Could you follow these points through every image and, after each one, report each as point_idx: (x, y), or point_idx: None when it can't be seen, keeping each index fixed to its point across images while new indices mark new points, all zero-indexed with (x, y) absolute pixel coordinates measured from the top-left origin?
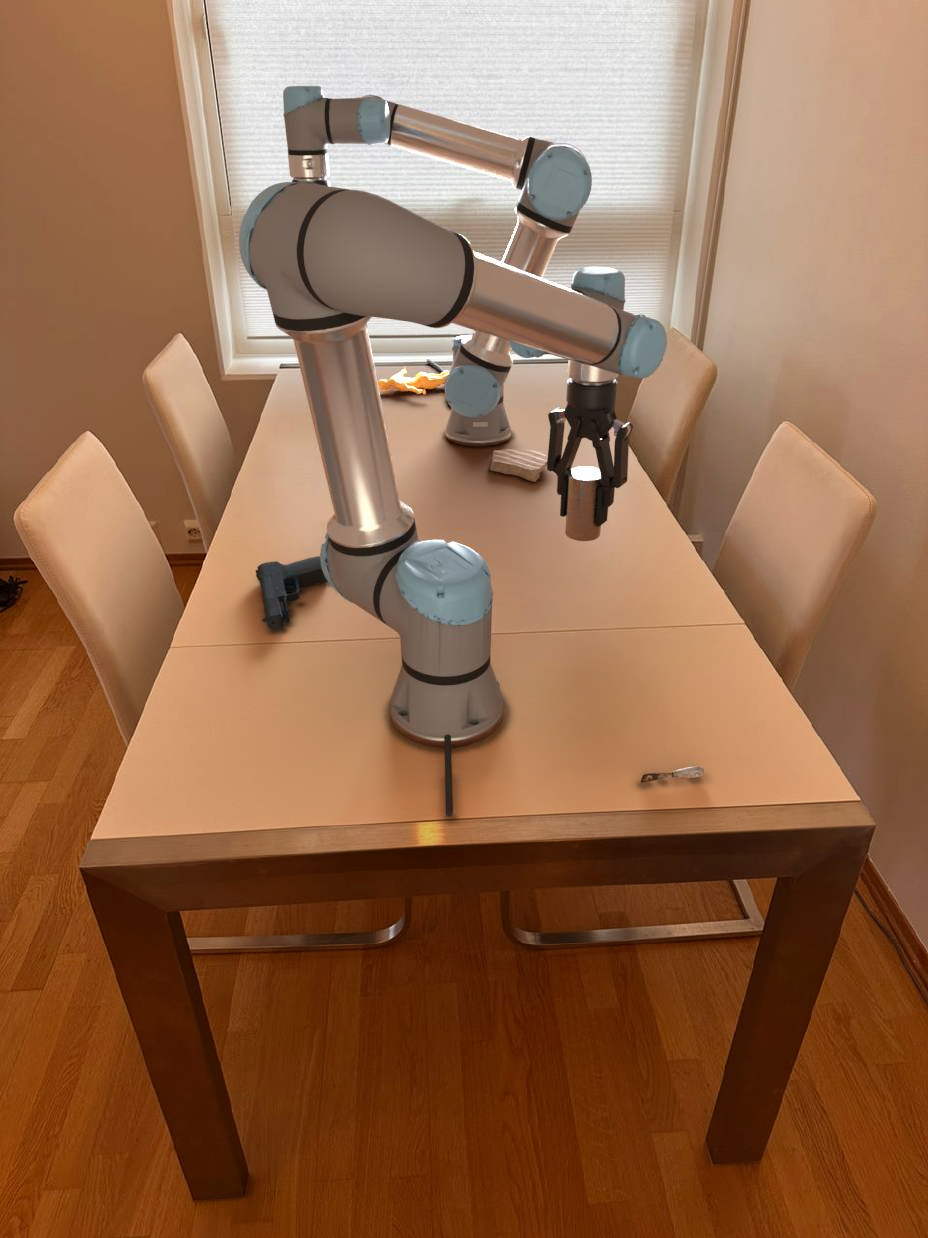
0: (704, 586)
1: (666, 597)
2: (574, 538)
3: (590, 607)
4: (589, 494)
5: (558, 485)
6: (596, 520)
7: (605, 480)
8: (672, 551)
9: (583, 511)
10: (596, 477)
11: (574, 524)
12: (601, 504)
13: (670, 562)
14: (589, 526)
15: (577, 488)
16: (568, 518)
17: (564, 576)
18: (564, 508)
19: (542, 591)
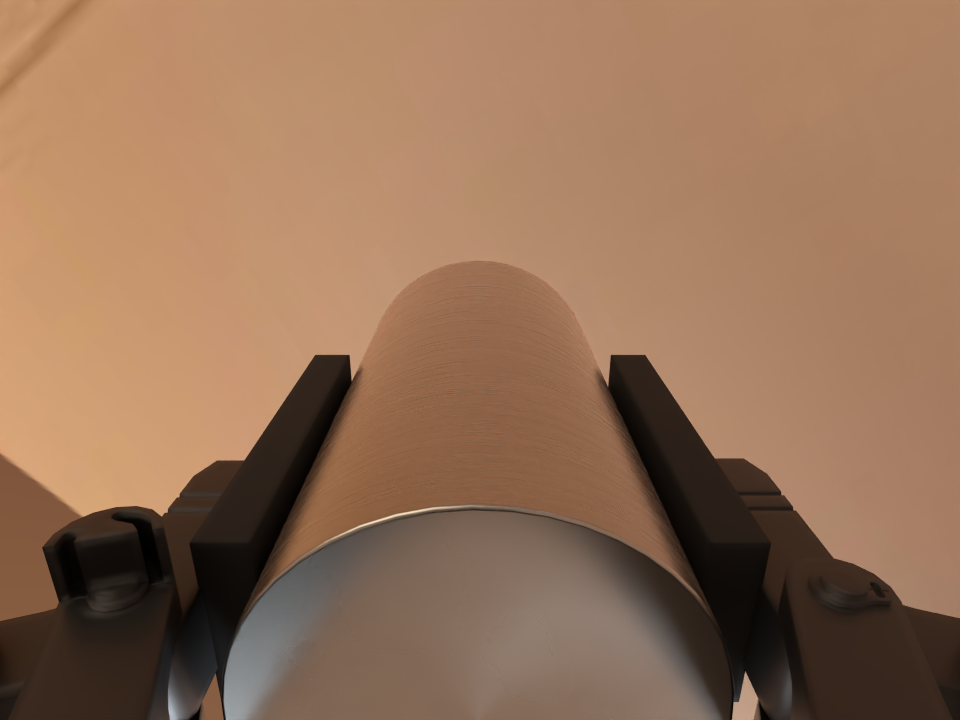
0: (70, 487)
1: (120, 343)
2: (477, 262)
3: (309, 81)
4: (340, 445)
5: (779, 510)
6: (332, 370)
7: (95, 650)
8: None
9: (409, 341)
10: (286, 680)
11: (485, 290)
12: (260, 447)
13: None
14: (382, 329)
15: (476, 430)
16: (550, 314)
17: (543, 264)
18: (624, 381)
19: (564, 82)
